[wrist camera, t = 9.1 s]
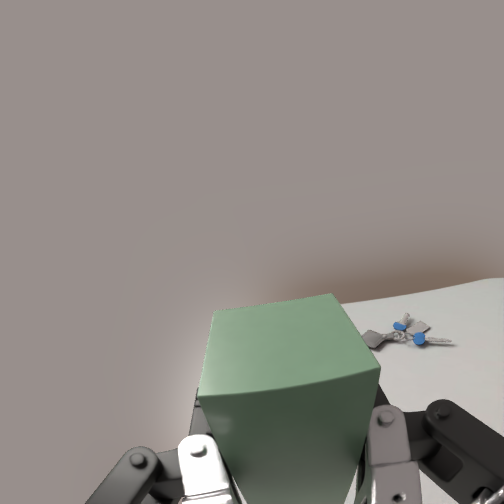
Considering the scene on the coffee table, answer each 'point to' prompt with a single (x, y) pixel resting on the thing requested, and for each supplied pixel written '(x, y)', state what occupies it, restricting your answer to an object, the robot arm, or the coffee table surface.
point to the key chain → (416, 330)
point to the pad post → (289, 398)
